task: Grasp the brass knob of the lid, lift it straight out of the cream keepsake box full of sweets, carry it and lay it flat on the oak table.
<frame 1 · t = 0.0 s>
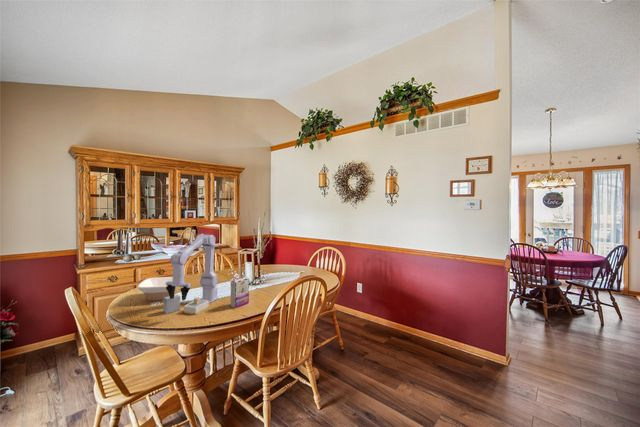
hand: (177, 299, 152), 10 cm above the table, fingers open, 7 cm apart
medicine box: (171, 311, 160), on the table
candy bar box: (239, 305, 174), on the table
box: (196, 309, 164), on the table
lid: (196, 304, 164), point 3 cm above the table, touching box
bowl: (161, 297, 183), on the table
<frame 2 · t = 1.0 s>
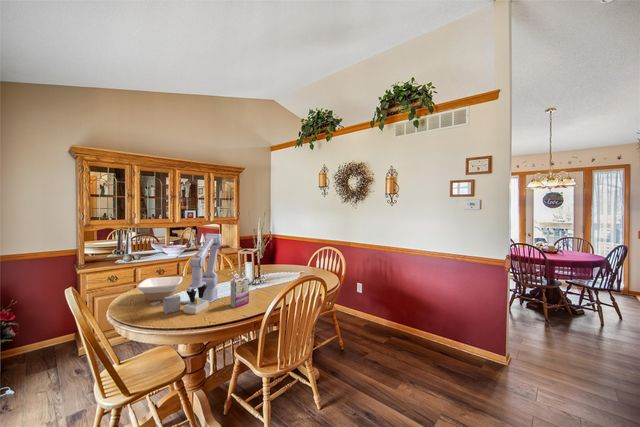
hand: (196, 300, 163), 6 cm above the table, fingers open, 7 cm apart
nothing on the table moved.
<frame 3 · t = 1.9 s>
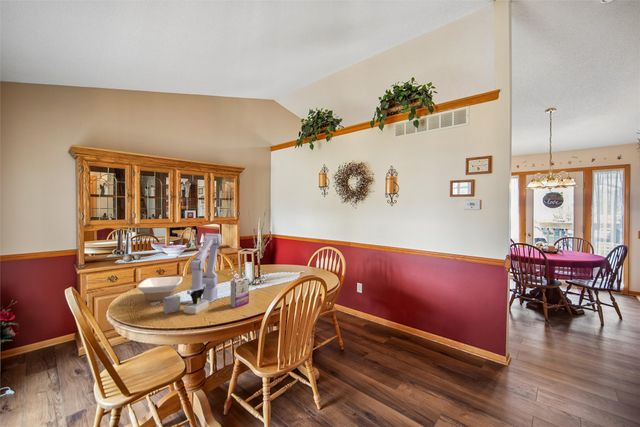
hand: (196, 302, 164), 4 cm above the table, fingers closed on lid, 2 cm apart
lid: (196, 304, 164), point 3 cm above the table, touching box, gripper
everything else where it was.
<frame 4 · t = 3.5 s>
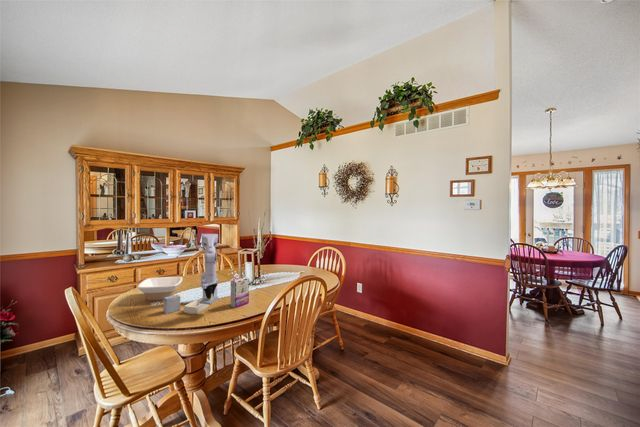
hand: (210, 297, 157), 10 cm above the table, fingers closed on lid, 2 cm apart
lid: (209, 300, 157), point 8 cm above the table, touching gripper
everything else where it was.
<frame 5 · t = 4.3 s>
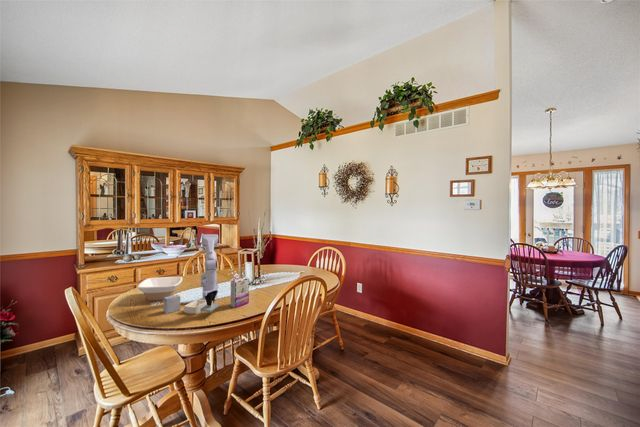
hand: (210, 304, 157), 6 cm above the table, fingers closed on lid, 2 cm apart
lid: (209, 308, 157), point 4 cm above the table, touching gripper
everything else where it was.
when the fingers open (4 cm above the table, at t = 5.0 s): lid drops 2 cm, on the table.
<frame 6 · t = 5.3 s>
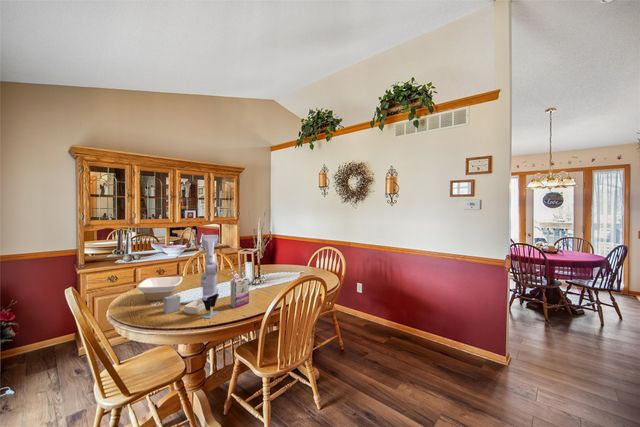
hand: (210, 308, 157), 4 cm above the table, fingers open, 5 cm apart
lid: (209, 315, 157), on the table
everything else where it was.
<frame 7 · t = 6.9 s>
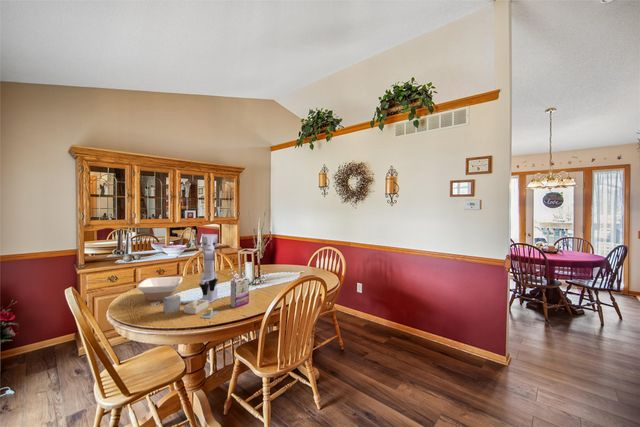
hand: (208, 292, 166), 10 cm above the table, fingers open, 7 cm apart
nothing on the table moved.
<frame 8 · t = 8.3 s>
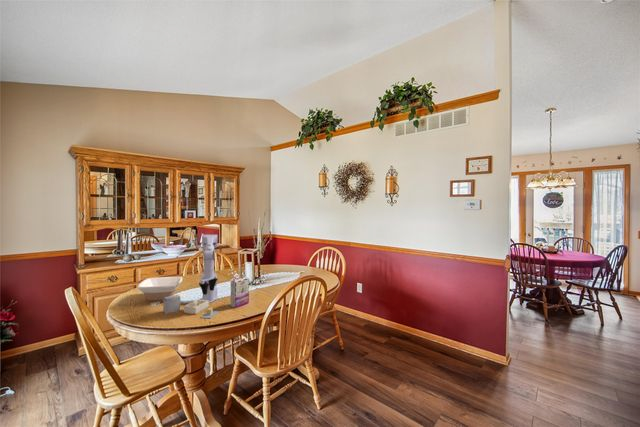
hand: (208, 292, 166), 10 cm above the table, fingers open, 7 cm apart
nothing on the table moved.
at the end: lid inside the target area (0.3 cm from its centre), on the table; lid tilted 0°; lid touching table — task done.
